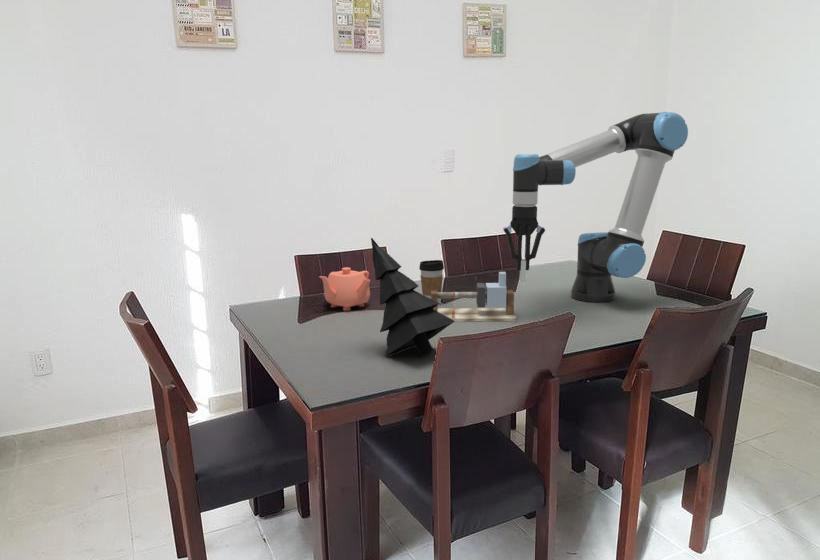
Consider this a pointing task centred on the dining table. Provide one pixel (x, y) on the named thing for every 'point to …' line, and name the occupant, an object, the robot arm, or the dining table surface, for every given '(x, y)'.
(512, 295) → the pipe rig
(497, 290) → the blue-grey block with post
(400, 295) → the decorative tree
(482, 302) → the collar
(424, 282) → the coffee cup
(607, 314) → the dining table surface
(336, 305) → the teapot
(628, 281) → the dining table surface
